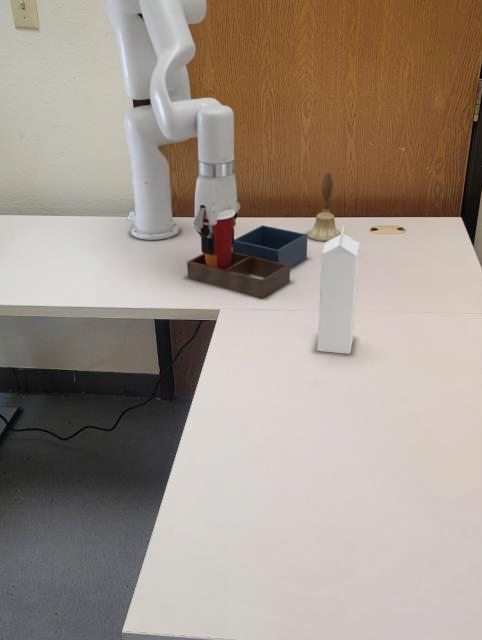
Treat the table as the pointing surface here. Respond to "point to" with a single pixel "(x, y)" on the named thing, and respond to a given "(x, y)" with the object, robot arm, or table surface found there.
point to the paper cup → (221, 240)
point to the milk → (338, 294)
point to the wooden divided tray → (242, 274)
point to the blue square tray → (273, 245)
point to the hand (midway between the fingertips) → (218, 247)
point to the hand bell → (325, 215)
